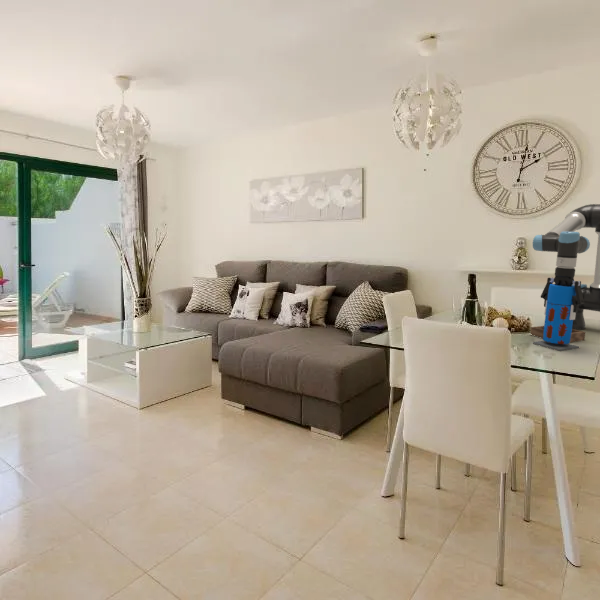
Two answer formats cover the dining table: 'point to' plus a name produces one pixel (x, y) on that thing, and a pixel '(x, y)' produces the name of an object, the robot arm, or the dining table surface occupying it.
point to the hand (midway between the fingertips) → (559, 317)
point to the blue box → (558, 314)
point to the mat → (556, 345)
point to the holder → (575, 336)
